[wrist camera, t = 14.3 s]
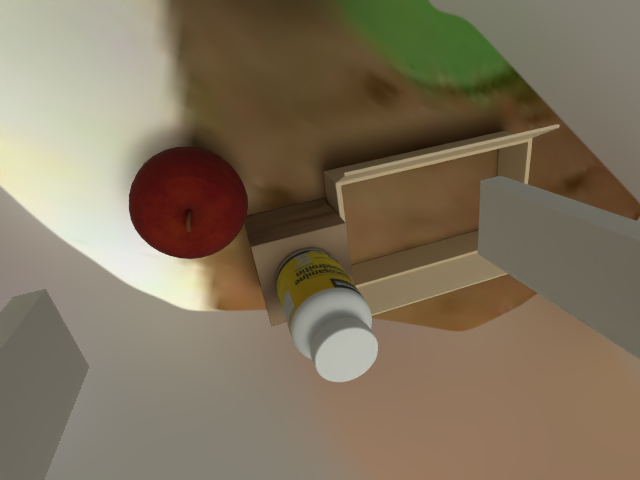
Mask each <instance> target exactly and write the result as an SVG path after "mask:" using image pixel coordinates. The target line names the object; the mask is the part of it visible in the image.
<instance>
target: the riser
mask: <svg viewBox="0 0 640 480" xmlns="http://www.w3.org/2000/svg"><path fill="white" fill-rule="evenodd" d="M244 223H245V227H246V231H247V235H248V239H249V242H250V246H251V250H252V254H253V258H254V262H255V266H256V270H257V274H258V277H259V281H260V285H261V289H262V293H263V297H264V300H265V304H266V308H267V312H268V315H269V319H270V323H271V326H275V325H278V324H282V323H285V322H287V321H286V318H285V315H284V312H283V308H282V305H281V302H280V299H279V296H278V293H277V289H276V277H277V273H278V270H279V268H280V266H281V265H282V264H283V262H284V261H285V260H286V259H287V258H288V257H290V256H291V255H292V254H294V253H296V252H298V251H301V250H305V249H320V250H323V251H326V252H328V253H329V254H331V255H332V256H333V257H334V258H335V259H336V260H337V261H338V262H339V264H340V265H341V267H342V268H343V269H344V271H345V272H346V274H347V275H348V276H349V278H350V279H351V281H352V282H353V275H352V267H351V259H350V251H349V243H348V235H347V227H346V222H345V221H344V220H343V219H342V218H341V217H340V216H339V215H338V214H337V213H336V212H335V211H334V210H333V209H332V208H331V207H330V206H329V205H328V204H327V203H326V202H325V201H324V200H323V199H322V198H321V199H317V200H313V201H308V202H304V203H300V204H296V205H292V206H287V207H283V208H279V209H275V210H270V211H266V212H262V213H258V214H254V215H249V216H246V219H245V221H244Z"/></svg>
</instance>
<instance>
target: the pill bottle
mask: <svg viewBox="0 0 640 480" xmlns="http://www.w3.org/2000/svg"><path fill="white" fill-rule="evenodd" d="M276 289H277V293H278V296H279V299H280V302H281V305H282V308H283V312H284V315H285V318H286V321H287V324H288V327H289V330H290V334H291V337H292V339H293V342H294V344H295V346H296V347H297V349H298V350H299V351H300V352H301V353H302V354H303V355H304V356H306V357H307V358H309V359H312V361H313V363H314V365H315V368H316V370H317V372H318V373H319V374H320V375H321V376H322V377H323V378H325V379H326V380H329V381H333V382H345V381H349V380H352V379H355V378H357V377H359V376H360V375H362V374H363V373H364V372H366V371H367V370H368V369H369V367H370V366H371V365H372V364H373V362H374V361H375V359H376V356H377V353H378V343H377V340H376V338H375V336H374V334H373V333H372V331H371V326H372V315H371V311H370V308H369V306H368V304H367V302H366V301H365V299H364V298H363V296H362V295H361V293H360V292H359V291H358V289H357V288H356V286H355V285H354V283H353V282H352V281H351V279H350V278H349V276H348V275H347V274H346V272H345V271H344V269H343V268H342V267H341V265H340V264H339V262H338V261H337V260H336V259H335V258H334V257H333V256H332V255H331V254H329V253H328V252H326V251H323V250H320V249H305V250H301V251H298V252H296V253H294V254H292V255H291V256H290V257H288V258H287V259H286V260H285V261H284V262H283V264H282V265H281V266H280V268H279V270H278V273H277V277H276Z"/></svg>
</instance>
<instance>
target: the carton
mask: <svg viewBox="0 0 640 480" xmlns="http://www.w3.org/2000/svg"><path fill="white" fill-rule="evenodd" d="M559 127H560V126H559V124H558V125H553V126H549V127H544V128H540V129H536V130H531V131H527V132H522V133H518V134H517V133H512V132H507V131H501V132H497V133H492V134H488V135H483V136H479V137H475V138H470V139H466V140H461V141H457V142H452V143H448V144H443V145H439V146H434V147H430V148H425V149H421V150H416V151H412V152H407V153H403V154H398V155H394V156H389V157H385V158H381V159H376V160H372V161H367V162H363V163H358V164H354V165H349V166H345V167H340V168H336V169H331V170H327V171H323V177H324V184H325V191H326V198H327V204H328V205H329V206H330V207H331V208H332V209H333V210H334V211H335V212H336V213H337V214H338V215H339V216H340V217H341V218H342V219H343V220H344V221H345V215H344V207H343V199H342V191H341V185H345V184H349V183H353V182H358V181H362V180H366V179H371V178H375V177H379V176H383V175H388V174H392V173H396V172H401V171H405V170H409V169H414V168H418V167H422V166H426V165H431V164H435V163H439V162H444V161H448V160H452V159H456V158H461V157H465V156H469V155H474V154H478V153H482V152H486V151H491V150H495V149H499V157H498V172H497V176H504V177H507V178H510V179H513V180H516V181H519V182H522V183H525V184H528V176H529V167H530V157H531V147H532V138H533V137H536V136H538V135H541V134H543V133H546V132H549V131H551V130H554V129H556V128H559ZM478 234H479V230H477V231H473V232H470V233H466V234H462V235H459V236H455V237H452V238H448V239H444V240H441V241H437V242H433V243H430V244H426V245H423V246H419V247H415V248H412V249H408V250H405V251H401V252H397V253H394V254H390V255H387V256H383V257H379V258H376V259H372V260H368V261H365V262H361V263H358V264H354V265H351V267H352V275H353V283H354V285H355V286H356V288H357V289H358V291H359V292H360V293H361V295H362V296H363V298H364V299H365V301H366V302H367V304H368V306H369V308H370V311H371V315H376V314H379V313H382V312H385V311H389V310H392V309H395V308H398V307H402V306H405V305H408V304H411V303H415V302H418V301H421V300H424V299H428V298H431V297H434V296H437V295H441V294H444V293H447V292H451V291H454V290H457V289H460V288H464V287H467V286H470V285H473V284H477V283H480V282H483V281H486V280H490V279H493V278H496V277H499V276H503V275H506V274H508V273H506V272H505V271H503V270H502V269H500V268H499V267H497V266H495V265H494V264H492V263H491V262H489V261H488V260H486V259H485V258H483V257H482V256H480V255H479V254H478Z"/></svg>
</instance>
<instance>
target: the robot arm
mask: <svg viewBox="0 0 640 480" xmlns="http://www.w3.org/2000/svg"><path fill="white" fill-rule="evenodd" d="M478 254H479V255H480V256H482V257H483V258H485V259H486V260H488V261H489V262H491V263H492V264H494V265H495V266H497V267H499V268H500V269H502V270H503V271H505V272H506V273H508V274H509V275H511V276H512V277H514V278H515V279H517V280H519V281H520V282H522V283H523V284H525V285H526V286H528V287H529V288H531V289H532V290H534V291H535V292H537V293H538V294H540V295H542V296H543V297H545V298H546V299H548V300H549V301H551V302H552V303H554V304H555V305H557V306H558V307H560V308H562V309H563V310H565V311H566V312H568V313H569V314H571V315H572V316H574V317H575V318H577V319H578V320H580V321H581V322H583V323H585V324H586V325H588V326H589V327H591V328H592V329H594V330H595V331H597V332H598V333H600V334H602V335H603V336H604V337H606V338H608V339H609V340H611V341H612V342H614V343H615V344H617V345H619V346H620V347H621V348H623V349H625V350H626V351H628V352H629V353H631V354H632V355H634V356H635V357H637V358H638V359H640V222H638V221H635V220H632V219H629V218H626V217H623V216H620V215H617V214H614V213H611V212H608V211H605V210H602V209H599V208H596V207H593V206H590V205H587V204H584V203H581V202H578V201H575V200H572V199H569V198H566V197H563V196H560V195H557V194H554V193H551V192H548V191H545V190H542V189H540V188H537V187H534V186H531V185H528V184H525V183H522V182H519V181H516V180H513V179H510V178H507V177H504V176H497V177H493V178H489V179H485V180H481V190H480V212H479V234H478ZM88 368H89V366H88V364H87V362H86V360H85V358H84V357H83V355H82V353H81V351H80V349H79V348H78V346H77V344H76V342H75V341H74V339H73V337H72V335H71V333H70V332H69V330H68V328H67V326H66V325H65V323H64V321H63V319H62V317H61V316H60V314H59V312H58V310H57V308H56V307H55V305H54V303H53V301H52V300H51V298H50V296H49V294H48V292H47V291H46V289H43V290H39V291H35V292H31V293H27V294H23V295H19V296H15V297H13V298H12V299H11V300H10V301H9V303H8V304H7V305H6V306H5V307H4V308H3V310H2V311H1V312H0V480H44V479H45V476H46V474H47V471H48V469H49V466H50V464H51V462H52V459H53V457H54V454H55V451H56V449H57V446H58V444H59V441H60V439H61V436H62V434H63V431H64V429H65V426H66V424H67V421H68V419H69V416H70V414H71V411H72V409H73V406H74V404H75V401H76V398H77V396H78V394H79V391H80V389H81V386H82V383H83V381H84V378H85V376H86V373H87V371H88Z"/></svg>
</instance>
